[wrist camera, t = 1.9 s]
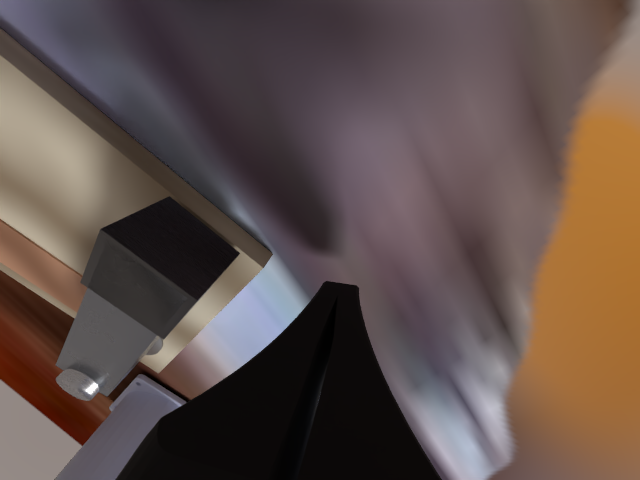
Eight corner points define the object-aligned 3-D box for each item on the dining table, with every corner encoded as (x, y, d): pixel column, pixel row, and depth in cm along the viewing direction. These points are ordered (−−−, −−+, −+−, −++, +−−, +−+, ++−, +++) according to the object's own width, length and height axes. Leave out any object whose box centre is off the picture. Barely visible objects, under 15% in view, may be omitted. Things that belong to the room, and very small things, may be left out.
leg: (148, 358, 17) (100, 412, 14) (99, 326, 16) (39, 375, 14) (240, 253, 11) (190, 309, 8) (169, 196, 10) (87, 235, 8)
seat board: (170, 358, 20) (156, 375, 18) (-40, 217, 17) (-73, 227, 16) (272, 254, 13) (261, 270, 12) (-52, -15, 10) (-111, -30, 9)
